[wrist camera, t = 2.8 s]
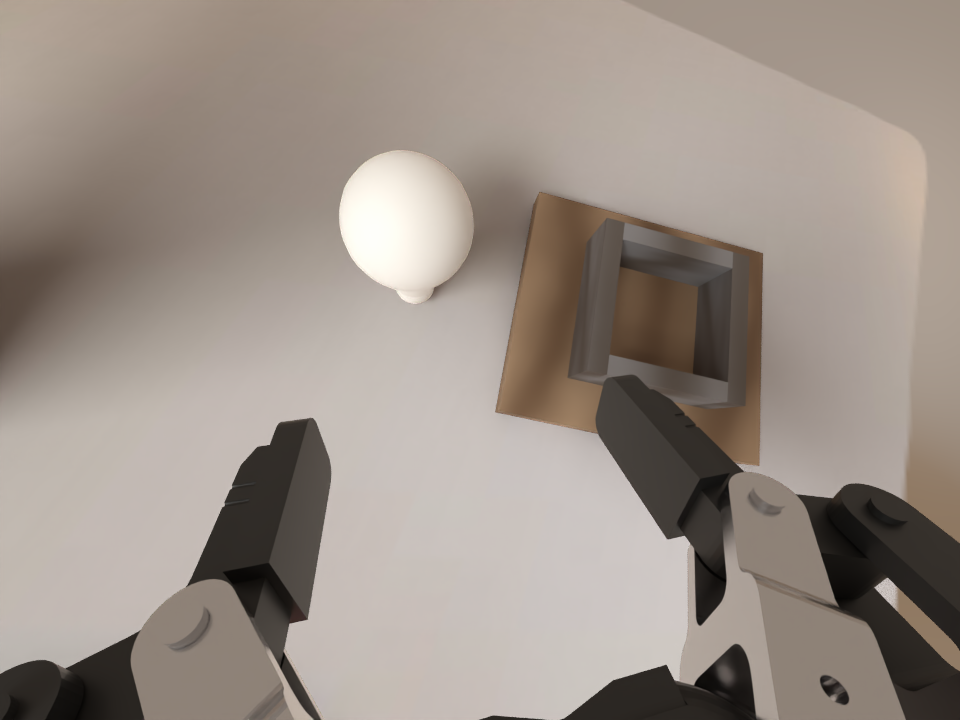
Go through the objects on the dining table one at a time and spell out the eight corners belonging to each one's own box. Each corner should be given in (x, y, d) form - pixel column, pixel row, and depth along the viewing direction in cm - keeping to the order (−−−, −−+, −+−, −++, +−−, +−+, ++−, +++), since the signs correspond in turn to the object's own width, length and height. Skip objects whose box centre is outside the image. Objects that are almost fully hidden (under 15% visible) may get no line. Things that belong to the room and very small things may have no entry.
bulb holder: (495, 412, 23) (510, 407, 19) (533, 204, 27) (553, 160, 23) (740, 463, 25) (805, 470, 21) (745, 262, 29) (802, 231, 24)
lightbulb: (384, 239, 25) (350, 93, 14) (468, 264, 25) (497, 141, 15) (357, 319, 23) (297, 225, 13) (447, 344, 24) (461, 273, 13)
